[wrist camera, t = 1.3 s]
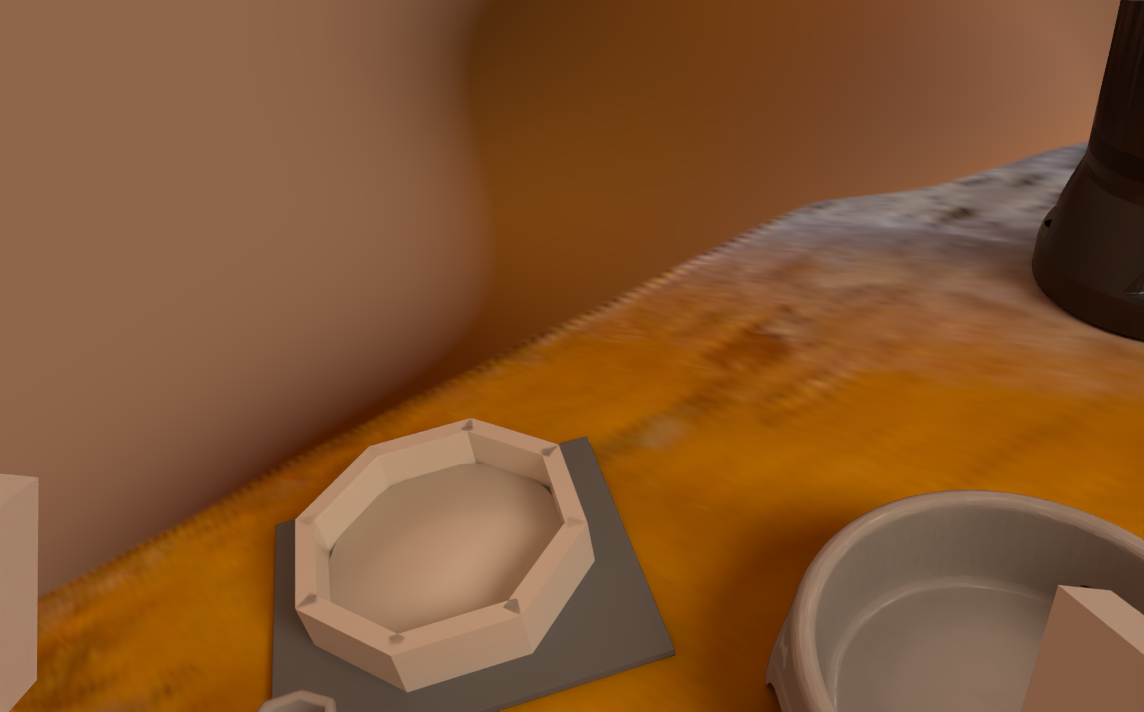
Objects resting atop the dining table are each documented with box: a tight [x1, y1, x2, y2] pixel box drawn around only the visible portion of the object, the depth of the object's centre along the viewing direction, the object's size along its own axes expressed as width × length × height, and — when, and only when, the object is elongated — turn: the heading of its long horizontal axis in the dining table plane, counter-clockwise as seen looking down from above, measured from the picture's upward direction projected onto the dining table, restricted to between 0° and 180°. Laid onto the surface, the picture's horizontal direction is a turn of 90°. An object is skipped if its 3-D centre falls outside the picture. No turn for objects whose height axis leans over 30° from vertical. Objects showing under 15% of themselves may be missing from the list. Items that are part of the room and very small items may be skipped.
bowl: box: [295, 418, 595, 692], centre depth 45 cm, size 14×14×3 cm
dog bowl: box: [765, 490, 1144, 712], centre depth 34 cm, size 17×18×5 cm
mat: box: [272, 436, 675, 712], centre depth 44 cm, size 18×15×1 cm
